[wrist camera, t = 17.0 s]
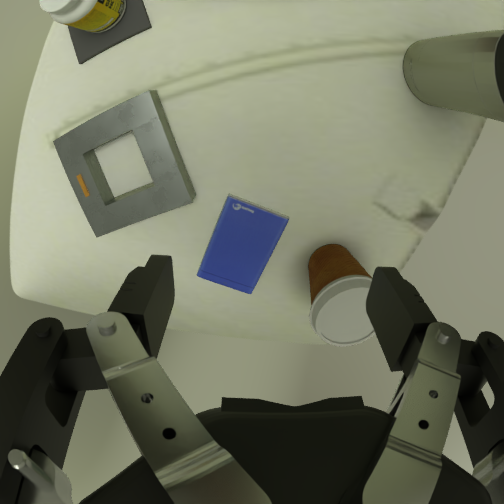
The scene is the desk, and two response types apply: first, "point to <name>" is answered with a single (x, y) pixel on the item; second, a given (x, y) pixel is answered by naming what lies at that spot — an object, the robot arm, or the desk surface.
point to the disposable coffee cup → (339, 297)
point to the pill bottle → (86, 13)
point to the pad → (110, 32)
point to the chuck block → (155, 156)
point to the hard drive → (241, 244)
